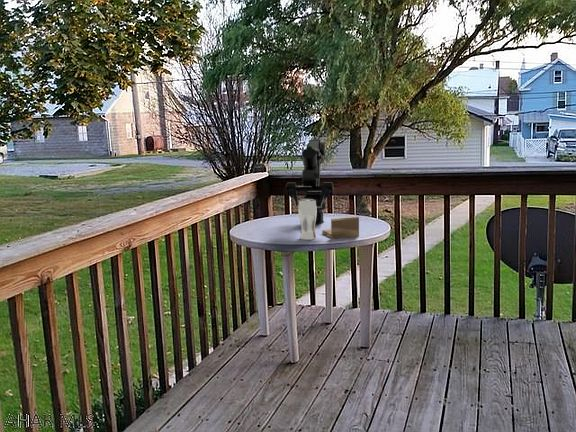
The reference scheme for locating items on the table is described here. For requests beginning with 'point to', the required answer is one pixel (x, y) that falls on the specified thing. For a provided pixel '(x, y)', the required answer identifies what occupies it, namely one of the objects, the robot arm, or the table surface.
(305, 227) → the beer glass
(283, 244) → the table surface
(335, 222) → the cleat board
